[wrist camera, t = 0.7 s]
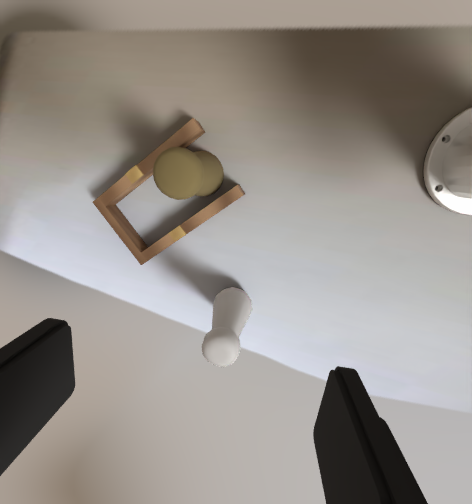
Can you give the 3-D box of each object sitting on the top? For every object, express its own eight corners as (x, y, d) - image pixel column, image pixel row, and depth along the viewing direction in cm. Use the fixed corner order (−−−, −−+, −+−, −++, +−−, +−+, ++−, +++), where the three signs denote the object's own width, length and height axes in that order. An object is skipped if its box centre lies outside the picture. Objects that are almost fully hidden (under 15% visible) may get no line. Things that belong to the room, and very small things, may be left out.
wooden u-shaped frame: (198, 122, 33) (192, 117, 31) (245, 193, 35) (243, 195, 32) (103, 200, 38) (91, 202, 35) (148, 259, 40) (140, 265, 37)
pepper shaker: (232, 171, 35) (215, 170, 24) (205, 205, 36) (178, 217, 26) (198, 140, 34) (166, 125, 24) (172, 176, 36) (131, 177, 25)
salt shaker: (209, 292, 40) (182, 343, 28) (240, 275, 39) (225, 322, 26) (229, 320, 41) (212, 383, 29) (260, 305, 40) (255, 364, 27)
